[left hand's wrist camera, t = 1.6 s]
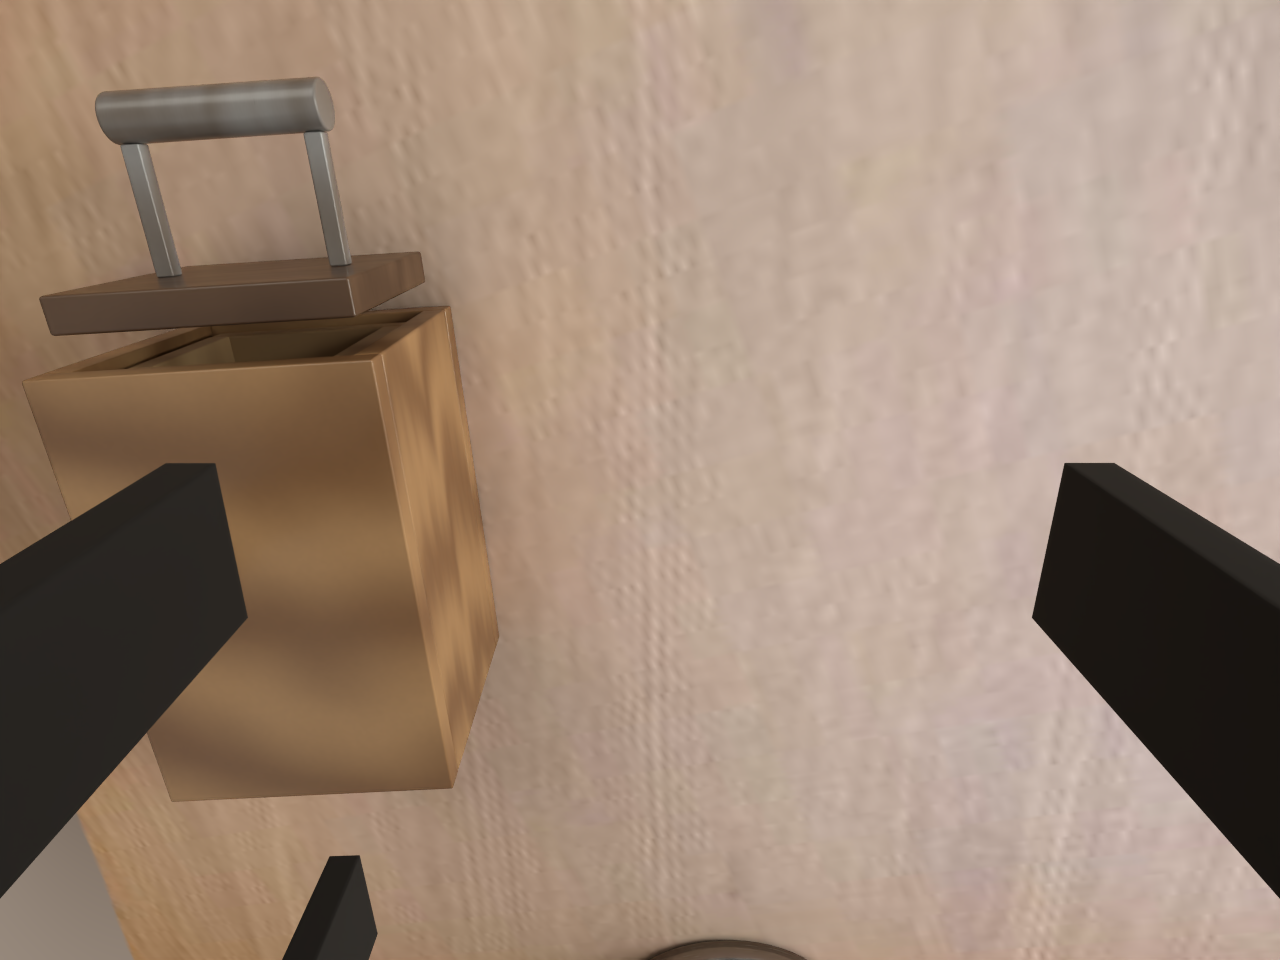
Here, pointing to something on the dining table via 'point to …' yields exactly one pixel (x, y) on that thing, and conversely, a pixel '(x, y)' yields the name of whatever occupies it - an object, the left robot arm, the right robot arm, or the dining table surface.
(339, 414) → the cabinet
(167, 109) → the drawer
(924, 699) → the dining table surface
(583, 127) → the dining table surface
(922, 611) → the dining table surface
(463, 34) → the dining table surface
